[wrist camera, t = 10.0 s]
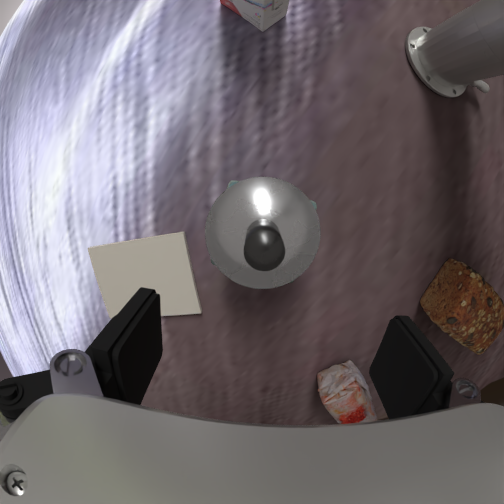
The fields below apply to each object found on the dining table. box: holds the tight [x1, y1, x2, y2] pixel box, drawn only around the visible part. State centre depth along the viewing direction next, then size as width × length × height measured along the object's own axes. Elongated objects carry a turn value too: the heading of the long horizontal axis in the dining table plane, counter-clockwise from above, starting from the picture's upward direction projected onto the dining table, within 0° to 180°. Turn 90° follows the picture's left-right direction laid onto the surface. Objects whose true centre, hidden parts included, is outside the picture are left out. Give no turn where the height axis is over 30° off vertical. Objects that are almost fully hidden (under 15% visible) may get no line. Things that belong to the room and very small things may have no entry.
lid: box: [205, 177, 320, 289], centre depth 24 cm, size 11×11×6 cm
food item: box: [317, 360, 377, 424], centre depth 39 cm, size 14×8×10 cm, turn 34°
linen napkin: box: [88, 232, 202, 318], centre depth 38 cm, size 16×12×1 cm
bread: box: [420, 258, 504, 355], centre depth 34 cm, size 19×11×10 cm, turn 59°
